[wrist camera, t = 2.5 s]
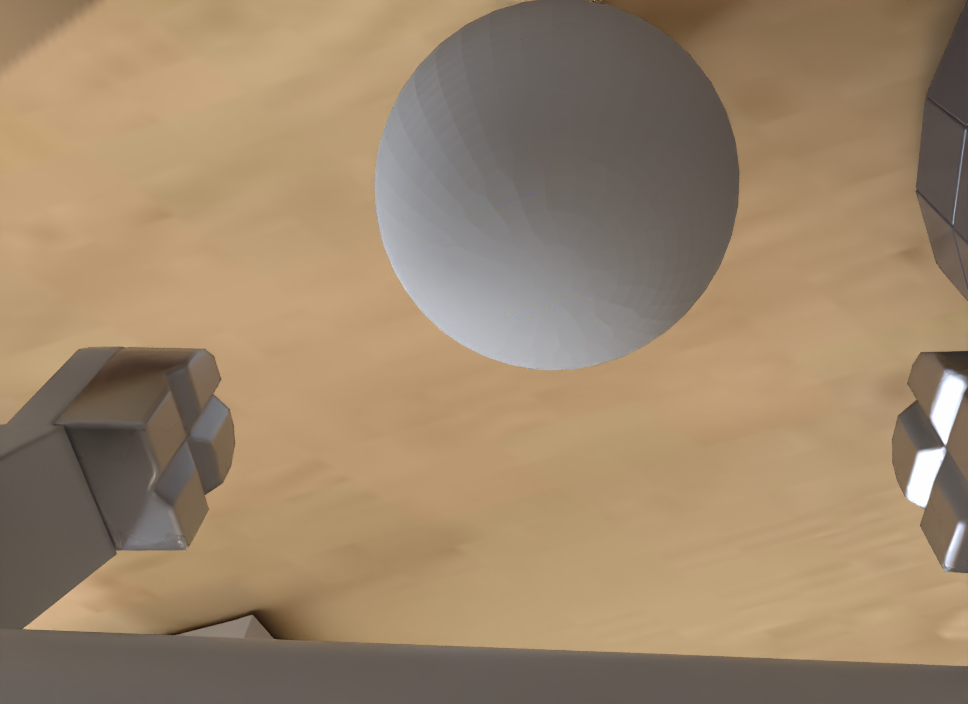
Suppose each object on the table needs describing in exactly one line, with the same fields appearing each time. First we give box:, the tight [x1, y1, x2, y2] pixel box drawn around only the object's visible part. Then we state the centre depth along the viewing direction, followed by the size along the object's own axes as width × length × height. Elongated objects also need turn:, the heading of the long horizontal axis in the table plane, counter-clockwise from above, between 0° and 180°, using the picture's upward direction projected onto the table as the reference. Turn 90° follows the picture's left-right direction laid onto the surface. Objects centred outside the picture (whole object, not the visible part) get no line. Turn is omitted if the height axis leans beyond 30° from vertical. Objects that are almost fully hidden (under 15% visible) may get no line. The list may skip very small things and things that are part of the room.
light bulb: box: [375, 0, 739, 370], centre depth 15 cm, size 6×6×10 cm
